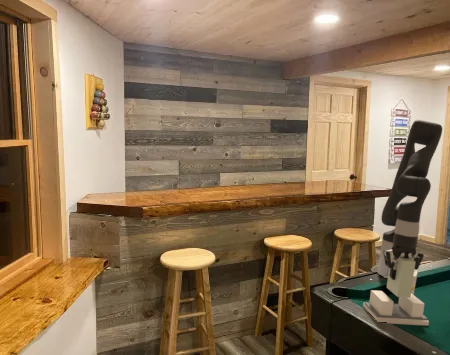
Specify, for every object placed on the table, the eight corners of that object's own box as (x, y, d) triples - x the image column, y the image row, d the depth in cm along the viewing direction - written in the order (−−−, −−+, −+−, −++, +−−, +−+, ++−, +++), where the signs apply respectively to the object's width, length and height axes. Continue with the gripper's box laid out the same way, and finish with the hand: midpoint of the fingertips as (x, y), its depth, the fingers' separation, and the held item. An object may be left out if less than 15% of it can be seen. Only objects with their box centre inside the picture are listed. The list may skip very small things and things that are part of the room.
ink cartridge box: (412, 305, 143) (417, 269, 141) (398, 301, 145) (403, 265, 143) (413, 298, 150) (419, 263, 148) (400, 294, 152) (405, 260, 151)
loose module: (386, 287, 136) (391, 253, 134) (398, 288, 136) (403, 253, 134) (397, 296, 128) (402, 260, 126) (410, 297, 128) (415, 261, 126)
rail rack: (362, 306, 138) (365, 288, 138) (409, 309, 139) (412, 291, 139) (377, 322, 127) (380, 303, 126) (428, 325, 127) (431, 306, 127)
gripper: (420, 231, 133) (413, 276, 135) (381, 228, 133) (375, 274, 135) (432, 237, 126) (425, 285, 128) (391, 234, 125) (385, 282, 127)
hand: (399, 279), depth 131 cm, fingers closed on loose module, 4 cm apart
